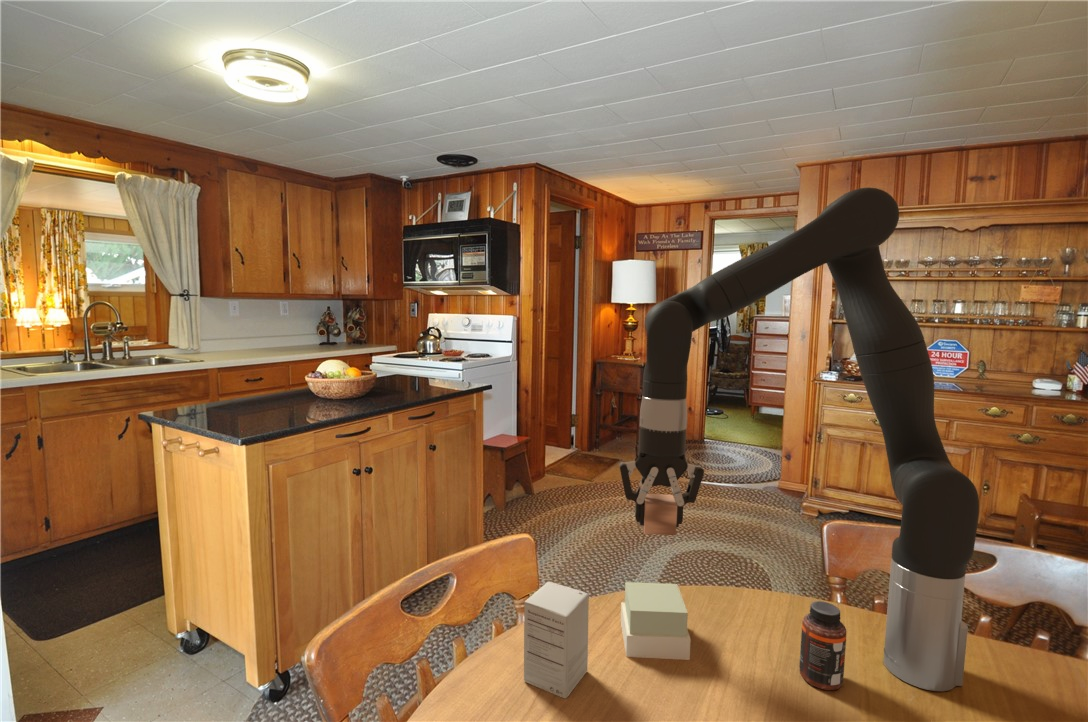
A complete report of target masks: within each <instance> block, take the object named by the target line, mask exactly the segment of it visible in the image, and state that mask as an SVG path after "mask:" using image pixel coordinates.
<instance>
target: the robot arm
mask: <svg viewBox="0 0 1088 722" xmlns="http://www.w3.org/2000/svg"><path fill="white" fill-rule="evenodd" d="M899 219H900V209H899V205H898V203H897V201H896V200H895V198H894V197H893V196H892V195H891V194H889V192H887V191H885V190H883V189H881V188H877V187H860V188H857V189H853V190H850V191H848V192H846V193H843V195H841V196H840V197H837V198H836V199H835V200H834V201H832V202H831V203H829V204H828V205H827V206H826V207H824V208H823V210H821V212H820V214H819V215H818V216H817V217H816V218H815V219H813V220H811V221H810V222H808V223H807V224H805V225H804V226H802V227H801V228H799V229H797V230H795V231H794V232H792V233H790V234H788V235H787V236H785V237H784V238H782V239H779V240H777V241H776V242H773V243H772V244H769V245H767V246H766V247H763V248H761V249H760V250H757V251H755V252H753V253H751V254H749V255H747V256H745V257H743V258H741V259H739V260H737V261H735V262H733V263H731V264H729V265H727V266H725V267H723V268H722V269H720V270H718V271H716V272H714V273H712V274H711V275H709V276H707V277H705V278H703V279H702V280H701V281H699V282H697V283H696V284H695V285H693V286H692V287H689V288H687V289H685V290H683V291H681V292H678V293H676V294H674V295H671V296H670V297H667V298H666V299H664V300H662V301H660V302H658V303H657V304H654V305H653V306H652V307H650V309H649V310H648V311H647V313H646V315H645V319H644V328H645V332H646V358H645V359H646V363H645V366H644V368H643V376H642V379H643V380H642V393H641V394H642V397H641V403H640V411H639V428H638V429H639V431H638V449H637V450H638V451H637V454H636V455H637V456H636V458H634V460H630V461H624V460H621V461H620V462H619V463H618V466H619V471H620V477H621V480H622V486H623V491H624V495H625V499H626V500H628V501H633V502H634V503H635V505H634V518H635V521H636V523H638V525H639V526H641V527H643V526H644V511H645V504H644V500H645V498H646V496H647V494H649V492H650V490H651V489H652V487H658V486H662V487H667V488H670V489H671V493H672V495H673V497H674V499H675V502H676V504H677V523H676V529H677V528H678V529H679V526H680V525H682V523H683V521H684V518H683V517H684V507H685V505H686V504H689V503H691V504H694V503H695V502H696V500H697V497H698V494H699V490H700V488H701V484H702V482H703V477H704V474H705V470H704V468H703V467H702V466H701V465H700V464H698V463H696V464H691V463H688V461H687V459H686V445H687V444H686V443H687V442H686V441H687V427H688V405H687V392H688V391H687V390H688V364H689V363H688V362H689V358H690V354H691V352H690V351H691V345H692V339H693V332H695V331H696V330H699V329H701V328H702V327H704V326H706V325H708V324H709V323H712V322H716V321H720V320H722V319H725V318H727V317H729V316H732V315H733V314H735V313H738V312H739V311H741V310H743V309H745V308H746V307H749V306H751V305H753V304H754V303H756V302H757V301H760V300H761V299H763V298H765V297H766V296H768V295H770V294H771V293H773V292H775V291H778V290H779V289H780V288H781V287H784V286H785V285H787V284H789V283H790V282H792V281H794V280H796V279H798V278H799V277H801V276H803V275H804V274H807V273H808V272H810V271H812V270H815V269H817V268H818V267H821V266H824V265H825V264H826V265H827V267H828V270H829V271H830V274H831V277H832V279H833V282H834V283H835V287H836V289H837V292H838V295H839V298H840V303H841V307H842V308H841V309H842V312H843V315H844V319H845V321H846V326H847V330H848V333H849V337H850V341H851V343H852V348H853V354H854V355H855V360H856V362H857V366H858V369H859V373H860V377H861V379H862V381H863V384H864V388H865V390H866V393H867V396H868V399H869V402H870V405H871V407H872V409H873V412H874V414H875V416H876V419H877V421H878V424H879V427H880V429H881V432H882V435H883V440H884V446H885V452H886V457H887V461H888V469H889V475H890V480H891V481H890V482H891V486H892V491H893V493H894V496H895V498H897V500H898V502H899V503H900V504H901V505H902V508H901V509H902V510H901V511H902V512H901V522H900V528H899V529H900V530H899V535H898V536H897V537H896V538H895V539H894V540H893V541H892V546H891V557H890V559H891V561H890V569H889V570H890V571H889V585H888V586H889V587H888V594H887V595H888V597H887V598H888V599H887V607H886V608H887V611H886V621H885V623H886V624H885V634H884V647H883V664H884V666H885V667H886V669H887V670H888V671H889V672H890V673H891V674H892V675H893V676H895V677H896V678H898V679H900V680H901V681H903V682H905V683H907V684H909V685H911V686H914V687H917V688H920V689H923V690H927V691H933V692H946V691H951V690H953V689H954V688H955V687H963V684H964V673H965V664H966V663H965V662H966V653H967V641H968V632H969V631H968V630H969V627H968V625H967V623H966V622H964V621H963V620H962V616H963V605H964V603H963V602H964V596H965V595H964V593H965V592H964V591H965V583H966V582H965V581H966V573H967V565H968V564H969V563H970V561H971V560H972V557H973V554H974V550H975V543H976V538H977V537H976V536H977V529H978V523H979V517H980V516H979V513H980V497H979V493H978V490H977V487H976V486H975V484H974V482H973V481H972V480H971V479H970V478H969V477H968V476H967V475H965V474H964V473H962V472H961V471H960V470H958V468H955V467H954V466H953V464H952V463H951V460H950V458H949V456H948V453H947V452H946V449H945V446H944V445H943V442H942V439H941V436H940V434H939V431H938V427H937V424H936V419H935V409H934V408H935V377H934V371H933V366H932V361H931V357H930V355H929V350H928V347H927V343H926V341H925V336H924V334H923V331H922V328H920V325H919V323H918V322H917V319H916V318H915V316H914V315H913V314H912V312H911V311H910V309H909V307H907V306H906V304H905V303H904V301H903V300H902V299H901V297H900V296H899V295H898V293H897V291H895V289H894V287H893V286H892V284H891V283H890V280H889V278H888V275H887V273H886V270H885V266H884V262H883V259H882V255H881V250H880V246H881V245H883V243H885V242H886V241H887V240H888V239H889V238H890V237H891V236H892V234H893V233H895V230H896V228H897V226H898V223H899V221H900V220H899ZM634 469H637V471H638V472H639V474H640V475H641V476H642V477H641V478H640V481H639V483H638V484H639V485H638V487H637V490H636V491H635V490H633V489H632V483H631V479H630V476H632V475H633V474H634ZM686 471H687V475H688V476H689V482H688V483H687V486H686V487H687V488H686V491H685V492H684V493H682V491H681V487H680V485H679V479H681V478H682V476H683V475H684V473H686Z"/></svg>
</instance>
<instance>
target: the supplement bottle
mask: <svg viewBox="0 0 1088 722" xmlns="http://www.w3.org/2000/svg"><path fill="white" fill-rule="evenodd" d="M841 619H842V618H841V610H840V608H838V607H837V605H834V604H832V603H830V602H826V601H821V600H817V601H816V600H815V601H812V602H811V603H810V609H809V613H807V614H805V615H804V617H803V618H802V623H801V635H800V637H801V638H800V650H799V651H800V652H799V654H800V655H799V674H800V676H801V677H802V679H804V681H806V683H808V684H809V685H811V686H813V687H816V688H818V689H822V690H826V691H836V690H839V689H840V688H841V687H842V686H843V682H844V675H845V661H846V650H847V649H846V647H847V645H846V644H847V629H846V626H845V625H844V623H843V622H842V621H841Z"/></svg>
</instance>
